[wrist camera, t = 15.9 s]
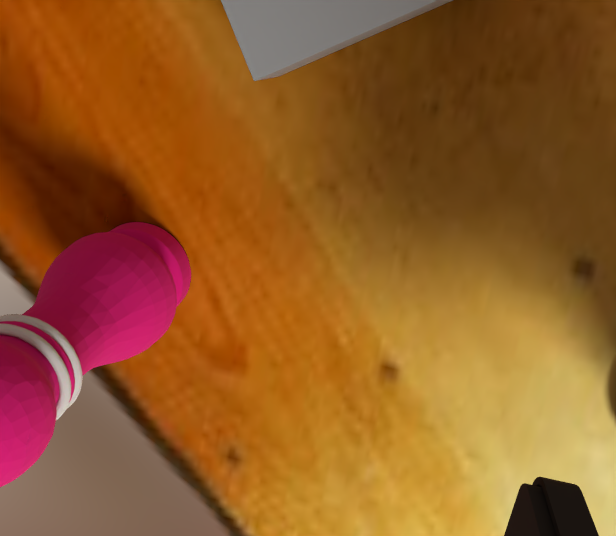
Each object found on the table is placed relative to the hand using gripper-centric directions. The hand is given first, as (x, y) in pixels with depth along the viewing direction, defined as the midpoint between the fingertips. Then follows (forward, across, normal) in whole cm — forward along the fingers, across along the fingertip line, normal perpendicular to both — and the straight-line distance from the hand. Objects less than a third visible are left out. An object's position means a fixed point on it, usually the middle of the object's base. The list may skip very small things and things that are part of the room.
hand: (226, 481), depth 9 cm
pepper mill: (+25, +13, +7) cm, 29 cm away
